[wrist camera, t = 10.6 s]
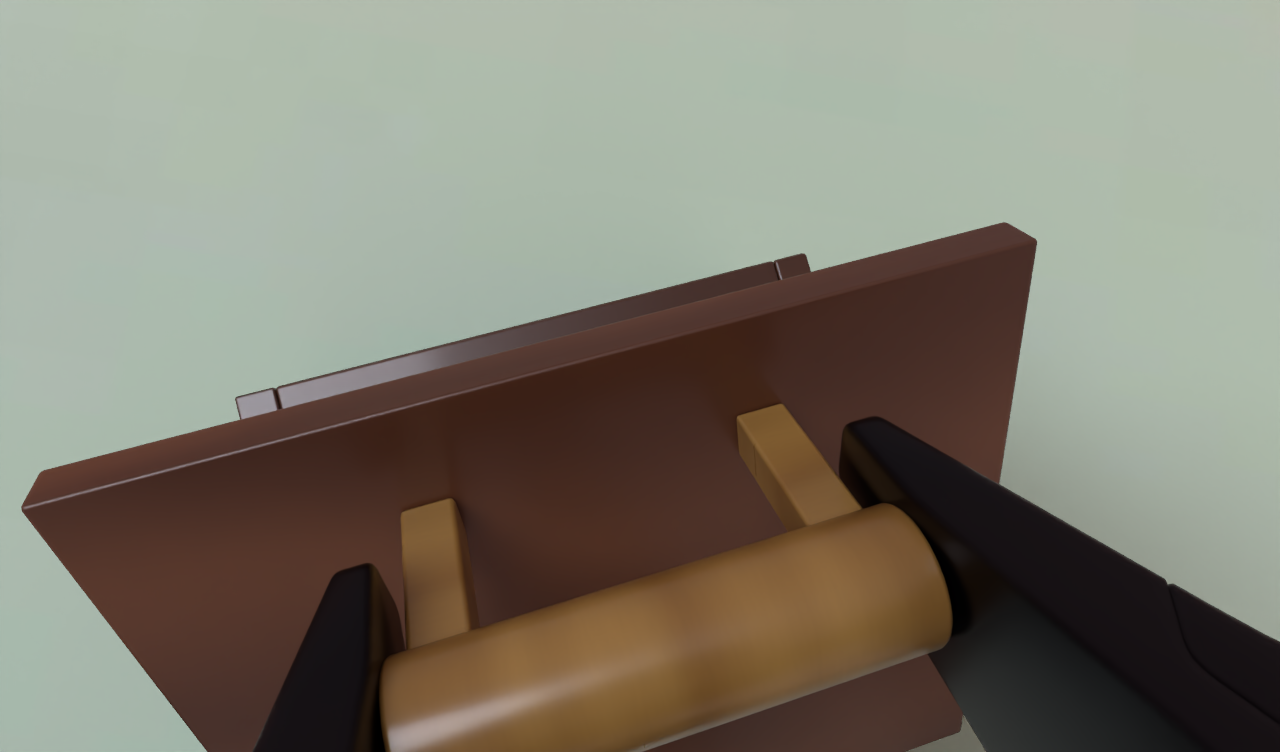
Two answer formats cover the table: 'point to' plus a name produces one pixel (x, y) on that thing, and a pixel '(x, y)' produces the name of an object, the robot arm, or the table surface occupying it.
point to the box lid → (585, 524)
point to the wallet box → (517, 336)
